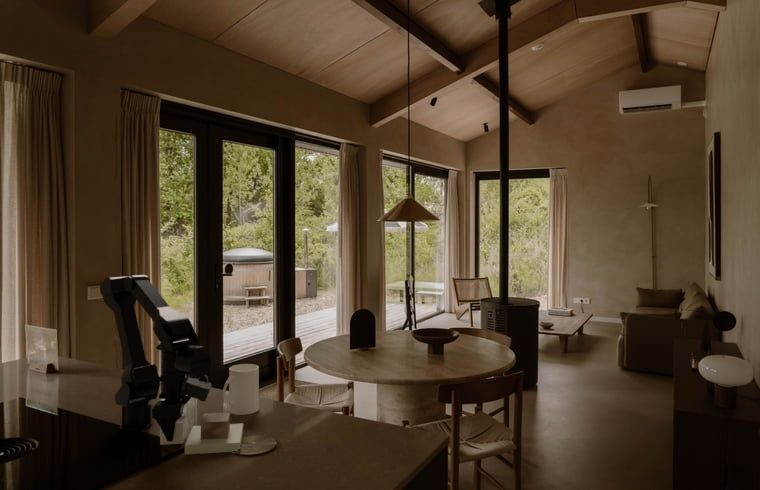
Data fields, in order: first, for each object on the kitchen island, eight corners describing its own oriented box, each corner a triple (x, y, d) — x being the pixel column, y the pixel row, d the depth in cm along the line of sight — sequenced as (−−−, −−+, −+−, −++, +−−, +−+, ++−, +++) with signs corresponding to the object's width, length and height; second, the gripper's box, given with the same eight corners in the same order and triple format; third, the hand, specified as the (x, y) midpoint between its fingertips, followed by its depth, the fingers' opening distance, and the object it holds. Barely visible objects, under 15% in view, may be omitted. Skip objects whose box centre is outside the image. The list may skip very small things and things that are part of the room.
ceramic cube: (160, 445, 124) (160, 424, 123) (164, 436, 128) (164, 416, 128) (182, 443, 125) (182, 422, 124) (186, 435, 129) (186, 415, 129)
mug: (232, 420, 140) (232, 375, 139) (211, 413, 144) (212, 370, 144) (265, 409, 149) (266, 366, 149) (245, 402, 154) (245, 362, 154)
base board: (184, 454, 118) (184, 445, 118) (193, 434, 130) (193, 426, 130) (239, 451, 121) (239, 442, 121) (243, 431, 132) (243, 423, 132)
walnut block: (200, 439, 122) (200, 422, 122) (204, 429, 128) (204, 413, 128) (227, 438, 123) (227, 421, 123) (229, 428, 129) (229, 412, 129)
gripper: (203, 379, 118) (203, 448, 119) (213, 359, 137) (213, 419, 137) (151, 381, 116) (150, 451, 117) (168, 360, 135) (167, 421, 135)
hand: (173, 434), depth 126 cm, fingers open, 8 cm apart
